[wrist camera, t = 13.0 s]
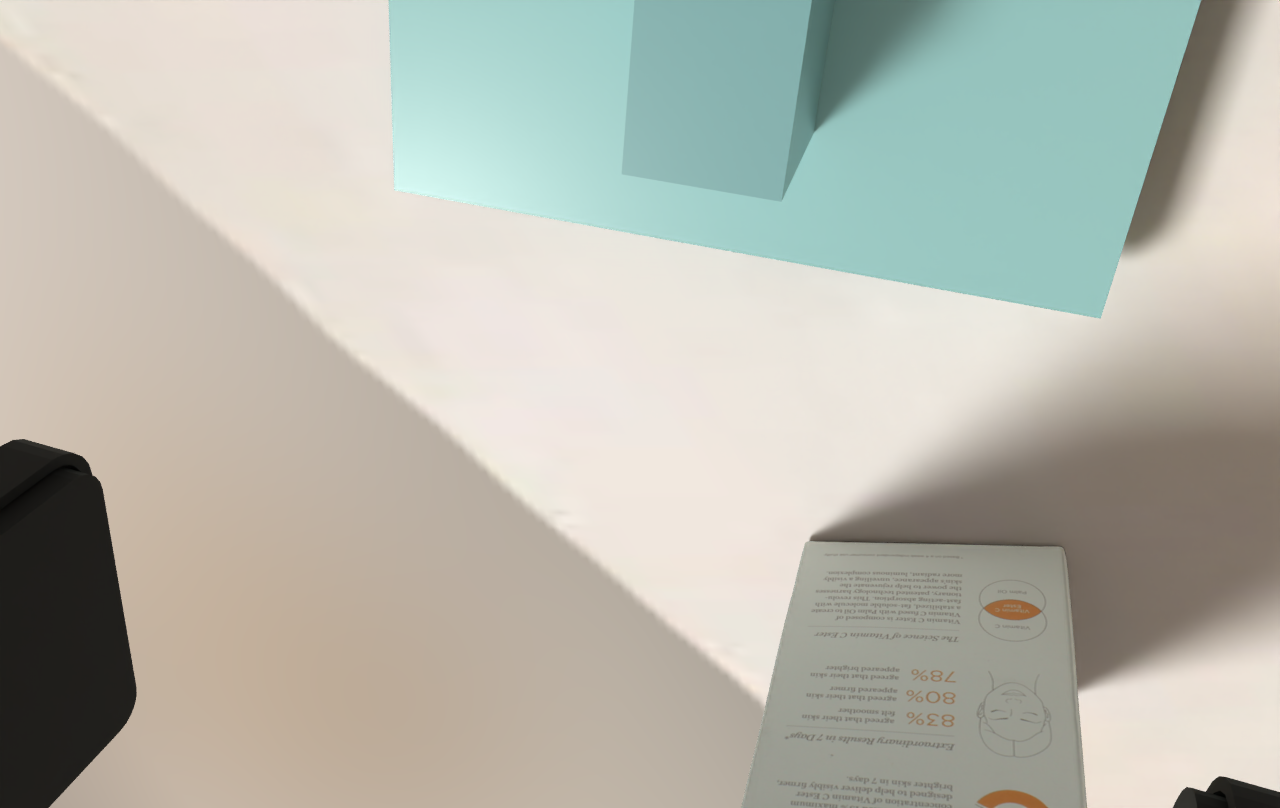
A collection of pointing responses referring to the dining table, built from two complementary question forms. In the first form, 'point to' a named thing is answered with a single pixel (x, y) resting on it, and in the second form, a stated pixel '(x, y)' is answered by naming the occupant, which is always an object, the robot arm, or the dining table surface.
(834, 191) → the lid
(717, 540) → the dining table surface
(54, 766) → the robot arm
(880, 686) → the small box
